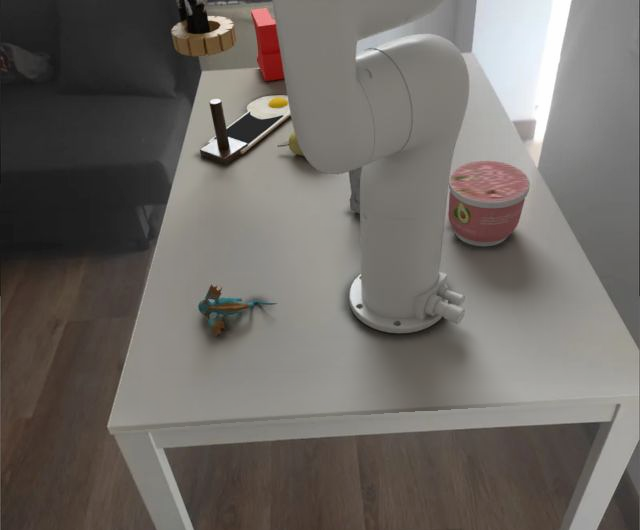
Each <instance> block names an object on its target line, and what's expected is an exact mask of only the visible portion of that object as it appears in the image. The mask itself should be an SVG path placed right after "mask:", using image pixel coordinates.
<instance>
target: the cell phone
mask: <svg viewBox="0 0 640 530" xmlns="http://www.w3.org/2000/svg"><path fill="white" fill-rule="evenodd" d="M256 106H258V105H256ZM289 114H290V111H288V112H287V113H286V114H284V115H281V116H278V117H273V118H269V119H258V118H256V117H254V116H252V115H250V111H248V110H247V112H246V113H244V114H243V115H241V116H240V117H239V118H237V119H236V120H234V121H233V122H232V123H231V124H229V125H228V126H226V129H227V134H228V137H230V138H233V139H236V140H239V141H242V142H245V143H248V146H247V147H245V148H244V149H242V150H241V151H240V152H241V155H243V154H245V153H246V152H248V151H249V150H250V149H251V148H252V147H253V146H255V145H256V144H257V143H258V142H260V141H261V140H262V139H263V138H265V137H266V136H267V135H268V134H269V133H271V132H272V131H273V130H275V129H276V128H277V127H278V126H279V125H280V124H282V123H283V122H284V121H286V120H288V118H289V117H291V115H289ZM214 140H216V135H215V136H213V137H211V139H209V140H208V141H207V145H208V144H210V143H211V142H213V141H214ZM248 149H249V150H248Z"/></svg>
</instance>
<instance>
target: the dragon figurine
mask: <svg viewBox="0 0 640 530" xmlns="http://www.w3.org/2000/svg"><path fill="white" fill-rule="evenodd" d="M223 288H224V287H223V286H221V288H220V289H218V285H216V286H213V284H210V286H209V287H208V291H207V293H206V295H205V296H204V299H203V300H201V301H199V303H198V305H197V309H198V311H199V313H200V314H201V315H202V316H204V317H205V319H206V320H207V324H208V325H209V328H210V329H211V331H212V333H213V335H214V337H217V336H218V335H219V334H221V335H222V331H221V329H224V330H227V328H226V327H225V325H224V323H225V322H224V320H223V319H222V317H221V315H223V316H231V315H235V314H237V313H240V312H242V311H243V310H247V309H251V308H253V307H254V305H255V304H262V305H265V306H266V305H267V306H273V305H277V304H278V303H276V302H264V301H260V300H254V301H253V300H252V301H250V302H242V300H243V299H242V298H241V297H221V296H222V290H223ZM211 300H212V301H211ZM212 313H215V316H214V317H213V318H211V316H210V315H211V314H212Z"/></svg>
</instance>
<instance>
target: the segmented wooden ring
mask: <svg viewBox="0 0 640 530" xmlns="http://www.w3.org/2000/svg"><path fill="white" fill-rule="evenodd" d="M207 17H208V22H209V28H210V32H209V33H205V34H191V33H189V31H188V26H187V21H186V20H184V21H182V22H181V21H180V22H178V23H176V24H175V25H173V27H172V28H171V30H170V34H171V38H172V43H173V46H174V50H175V51H176V52H177V53H179V54H180V55H184V56H187V57H190V56H192V57H206V56H213V55H218V54H221V53H223V52H224V53H225V52H226V51H228V50H230V49H232V48H233V47H235V44H236V43H237V36H236V35H237V34H236V29H235V23H234V22H233V20H232V19H230V18H228V17H225V16H221V15H218V16H216V15H207Z"/></svg>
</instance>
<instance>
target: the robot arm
mask: <svg viewBox="0 0 640 530" xmlns="http://www.w3.org/2000/svg"><path fill="white" fill-rule="evenodd" d="M175 1H176V5H177V8H178V10H177V11H178V16H179V21H180V22H182V21H184V20H186V21H187V26H188V31H189V33H191V34H205V33H209V32H210V28H209V22H208V17H207V16H208V11H207V9H208V8H207V2H208V0H175ZM445 1H446V0H272V8H273V17H274V19H275V22H276V28H277V35H278V41H279V47H280V53H281V59H282V65H283V71H284V77H285V78H284V82H285V88H286V94H287V95H286V96H288V102H289V108H290V113H291V116H290V119H291V122H292V123H291V124H292V127H293V132H294V131H295V135H296V138H297V141H298V144H299V146H300V148H301V151H302V152H303V154H304V156H303V157H304V158H305V159H306V160H307V162H308V163H309V164H310V165H311V166H312V167H313V168H314V169H316V170H317V171H319V172H321V173H323V174H326V175H341V174H346V173H349V171H352V170H355V169H357V168H360V167H362V171H361V177H360V213H359V221H360V223H359V224H360V225H359V229H360V230H359V231H360V234H359V235H360V274H358V276H357V277H356V278H355V279H354V280H353V281H352V284H350V288H349V293H348V294H349V297H348V298H349V299H348V300H349V301H348V302H349V306H350V308H351V311H352V313H353V314H354V316H355V317H356V318H357V319H359V321H361V322H362V323H363V324H365V325H366V326H368V327H370V328H371V329H375V330H378V331H380V332H385V333H389V334H411V333H415V332H419V331H422V330H425V329H428V328H429V327H432V326H433V325H435V324H436V323H438V322H439V321H440V320H441V319H442V318H443V319H445V320H446V321H449V322H451V323H454V324H456V325H459V324H460V323H461V322H462V320H463V319H464V317H465V313H466V310H465V308H463V307H461V306H462V305H463V303H464V302H465V298H466V296H465V295H463V294H461V293H459V292H457V291H452V290H450V289H449V287H448V285H447V278H448V274H447V273H444V272H442V271H440V267H441V260H442V259H441V258H442V248H443V239H444V231H445V221H446V210H447V201H448V194H449V179H450V175H451V169H452V163H453V157H454V153H455V149H456V144H457V141H458V139H459V136H460V132H461V128H462V126H463V122H464V119H465V116H466V111H467V109H468V108H467V107H468V103H469V98H470V74H469V69H468V66H467V63H466V60H465V58H464V56H463V53H462V52H461V51H460V50H459V48H458V47H457V46H456V45H455V44H454V43H453V42H451V41H450V40H449V39H447V38H445V37H443V36H440V35H438V34H433V33H417V34H416V33H415V34H410V35H406V36H402V37H398V38H395V39H392V40H389V41H387V42H383V43H381V44H378V45H377V44H376V45H375V46H372V47H368V48H365V49H363V50H362V51H358V52H357V48H358V42H359V41H361V40H365V39H368V38H371V37H374V36H376V35H379V34H380V35H381V34H382V33H385V32H388V31H391V30H394V29H397V28H400V27H403V26H405V25H408V24H411V23H415V22H416V21H419V20H421V19H424V18H426V17H428V16H430V15H431V14H433V13H434V12H436V11H437V10H439V8H440V7H441V6H442V5H443V4H444V3H445ZM449 302H450V303H449Z"/></svg>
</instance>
